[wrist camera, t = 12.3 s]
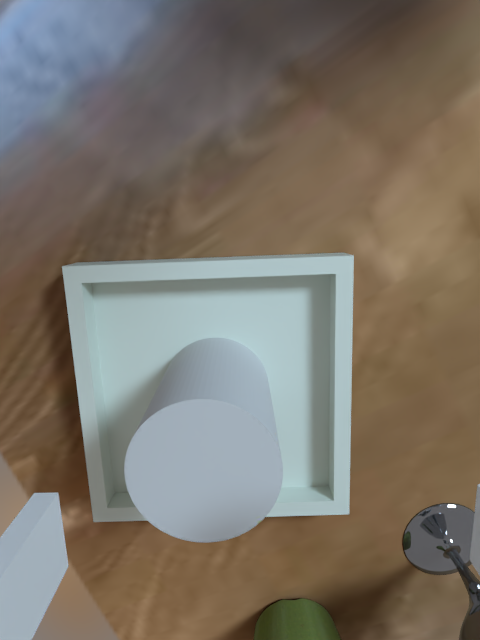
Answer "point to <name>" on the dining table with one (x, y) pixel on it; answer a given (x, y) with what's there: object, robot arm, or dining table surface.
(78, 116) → the dining table surface
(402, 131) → the dining table surface
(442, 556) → the wine glass
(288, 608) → the plant pot
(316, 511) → the tray
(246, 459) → the white round cylinder
